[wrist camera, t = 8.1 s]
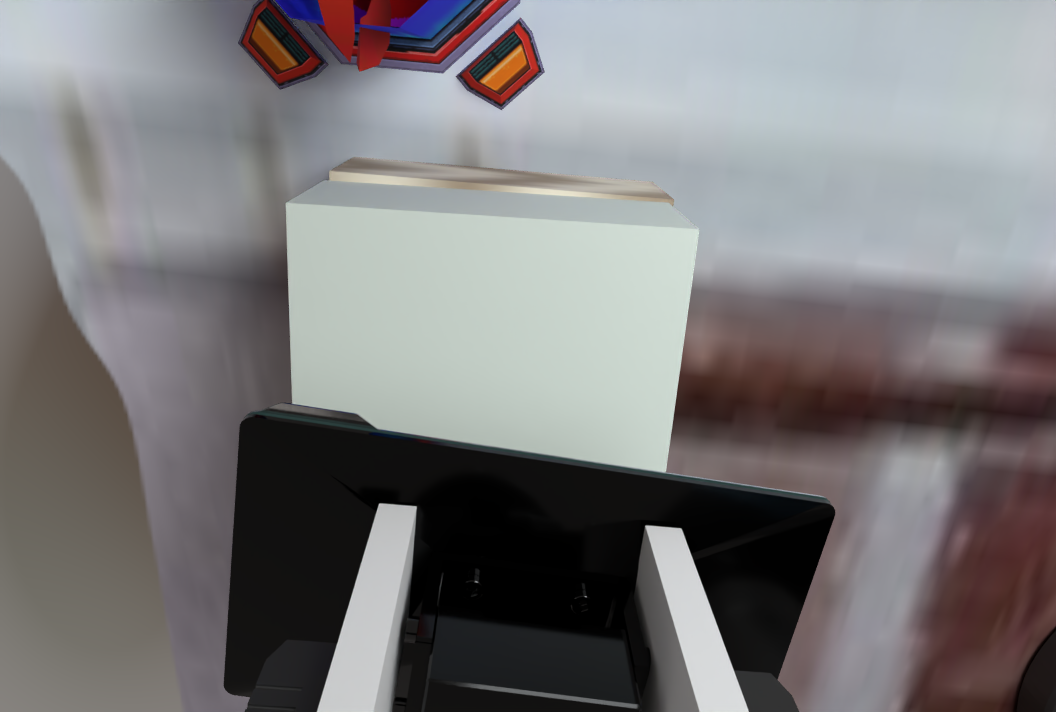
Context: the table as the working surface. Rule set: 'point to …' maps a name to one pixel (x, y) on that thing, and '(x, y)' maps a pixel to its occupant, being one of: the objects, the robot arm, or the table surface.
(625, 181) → the base block
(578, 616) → the build plate
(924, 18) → the table surface
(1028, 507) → the table surface
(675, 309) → the top block
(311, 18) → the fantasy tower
